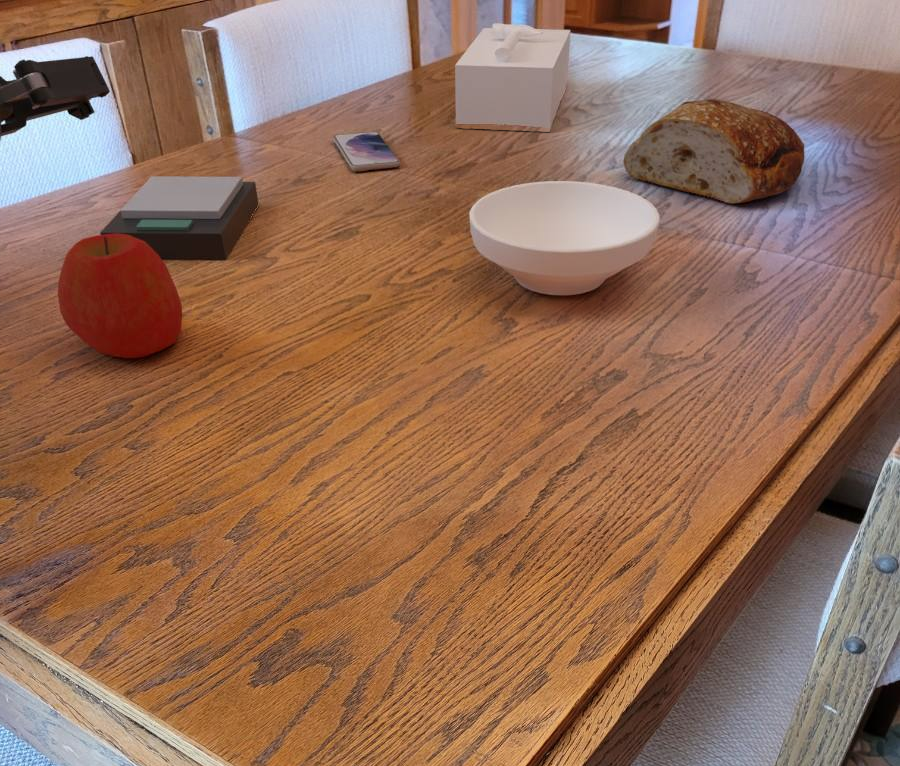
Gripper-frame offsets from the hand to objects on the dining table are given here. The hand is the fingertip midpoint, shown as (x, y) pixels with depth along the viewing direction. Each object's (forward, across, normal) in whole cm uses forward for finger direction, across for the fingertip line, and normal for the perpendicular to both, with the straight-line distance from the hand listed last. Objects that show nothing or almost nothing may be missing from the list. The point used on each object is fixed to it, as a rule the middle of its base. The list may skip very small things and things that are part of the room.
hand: (0, 133), depth 74 cm
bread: (+31, +75, -33) cm, 88 cm away
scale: (+33, +8, -13) cm, 37 cm away
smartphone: (+54, +35, -13) cm, 66 cm away
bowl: (+9, +44, -31) cm, 54 cm away
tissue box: (+70, +63, -16) cm, 96 cm away
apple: (+6, 0, -20) cm, 21 cm away
